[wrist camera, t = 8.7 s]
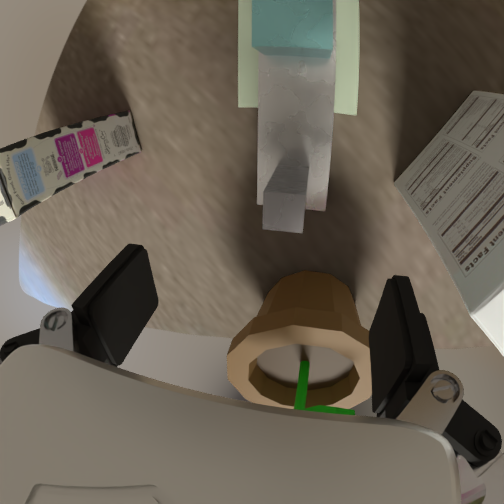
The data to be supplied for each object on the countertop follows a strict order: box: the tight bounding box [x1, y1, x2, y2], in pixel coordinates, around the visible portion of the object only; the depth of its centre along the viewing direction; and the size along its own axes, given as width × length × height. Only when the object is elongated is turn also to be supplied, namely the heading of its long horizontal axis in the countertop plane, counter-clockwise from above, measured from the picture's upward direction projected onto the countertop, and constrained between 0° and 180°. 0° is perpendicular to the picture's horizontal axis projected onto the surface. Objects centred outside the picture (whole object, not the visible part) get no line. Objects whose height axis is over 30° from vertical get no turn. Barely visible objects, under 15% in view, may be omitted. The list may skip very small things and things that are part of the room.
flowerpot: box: [227, 270, 372, 415], centre depth 21 cm, size 14×14×30 cm
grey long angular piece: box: [252, 0, 336, 233], centre depth 18 cm, size 19×6×8 cm, turn 0°
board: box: [238, 0, 359, 116], centre depth 20 cm, size 12×10×1 cm
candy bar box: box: [0, 111, 141, 226], centre depth 21 cm, size 11×5×16 cm, turn 104°
